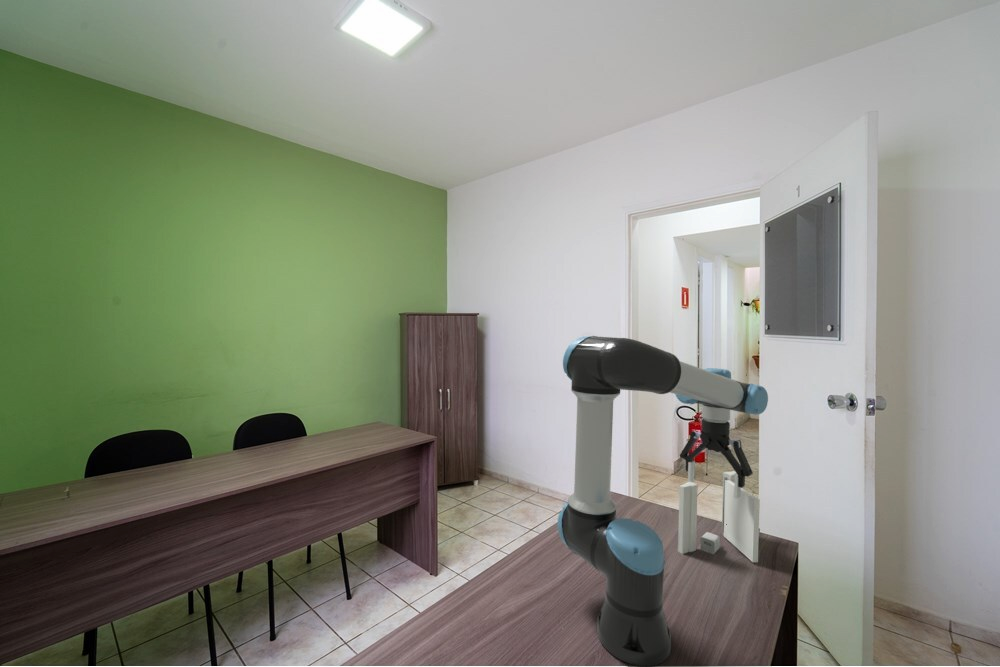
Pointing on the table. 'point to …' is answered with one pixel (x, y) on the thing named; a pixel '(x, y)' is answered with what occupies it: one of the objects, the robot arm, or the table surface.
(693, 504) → the door frame
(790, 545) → the table surface
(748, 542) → the door
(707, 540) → the usb wall charger
